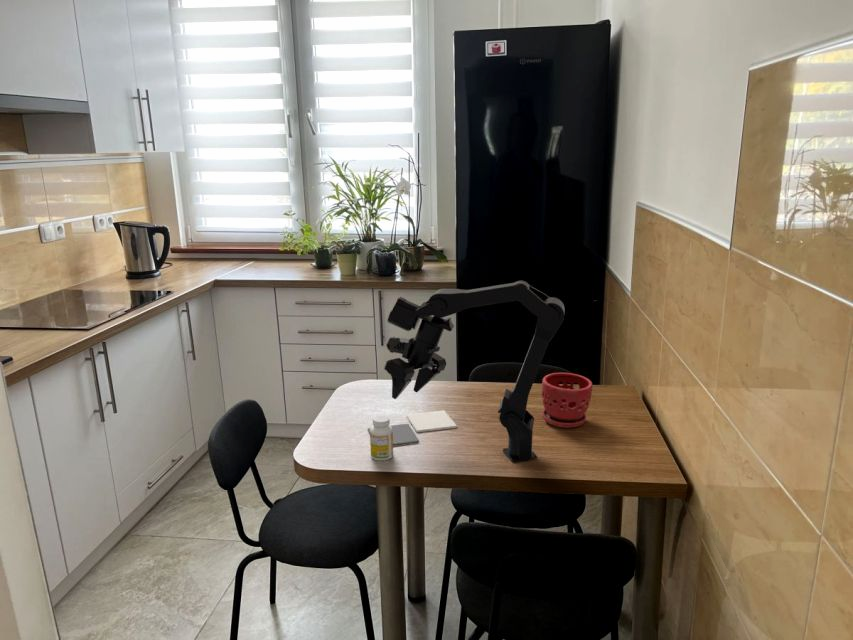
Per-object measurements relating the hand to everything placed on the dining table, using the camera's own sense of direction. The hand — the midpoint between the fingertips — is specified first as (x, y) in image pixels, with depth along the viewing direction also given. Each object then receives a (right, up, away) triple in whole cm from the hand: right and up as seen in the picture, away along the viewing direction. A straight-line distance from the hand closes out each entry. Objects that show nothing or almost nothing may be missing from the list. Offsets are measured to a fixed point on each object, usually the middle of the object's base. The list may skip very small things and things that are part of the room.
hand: (404, 394), depth 157 cm
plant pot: (+43, -9, +17) cm, 47 cm away
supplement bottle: (-5, -15, -3) cm, 16 cm away
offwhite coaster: (+7, -9, +17) cm, 20 cm away
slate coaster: (-3, -12, +8) cm, 14 cm away
